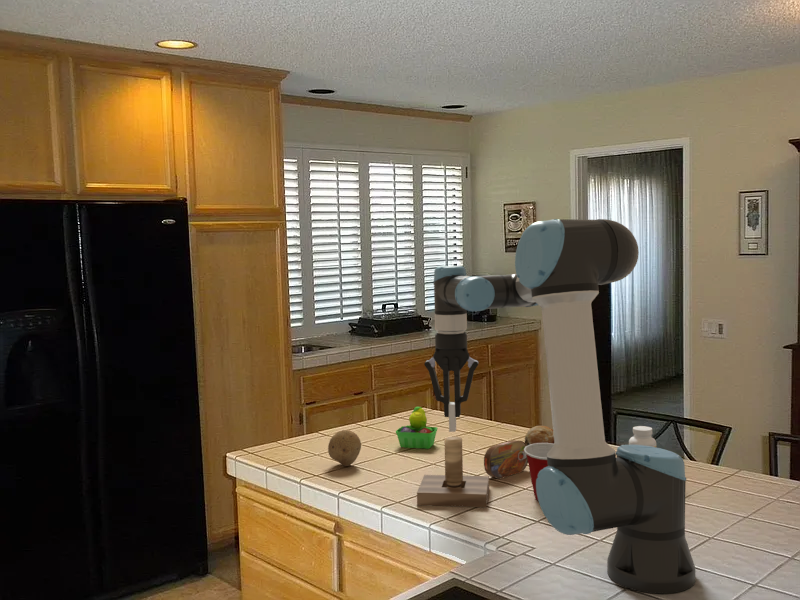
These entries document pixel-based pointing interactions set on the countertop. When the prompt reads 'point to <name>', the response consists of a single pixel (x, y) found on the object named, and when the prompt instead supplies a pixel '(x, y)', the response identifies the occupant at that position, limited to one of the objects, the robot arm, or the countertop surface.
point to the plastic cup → (537, 460)
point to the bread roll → (539, 435)
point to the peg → (453, 462)
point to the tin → (505, 459)
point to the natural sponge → (344, 447)
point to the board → (453, 492)
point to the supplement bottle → (642, 436)
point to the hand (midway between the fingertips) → (452, 430)
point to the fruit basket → (417, 431)
